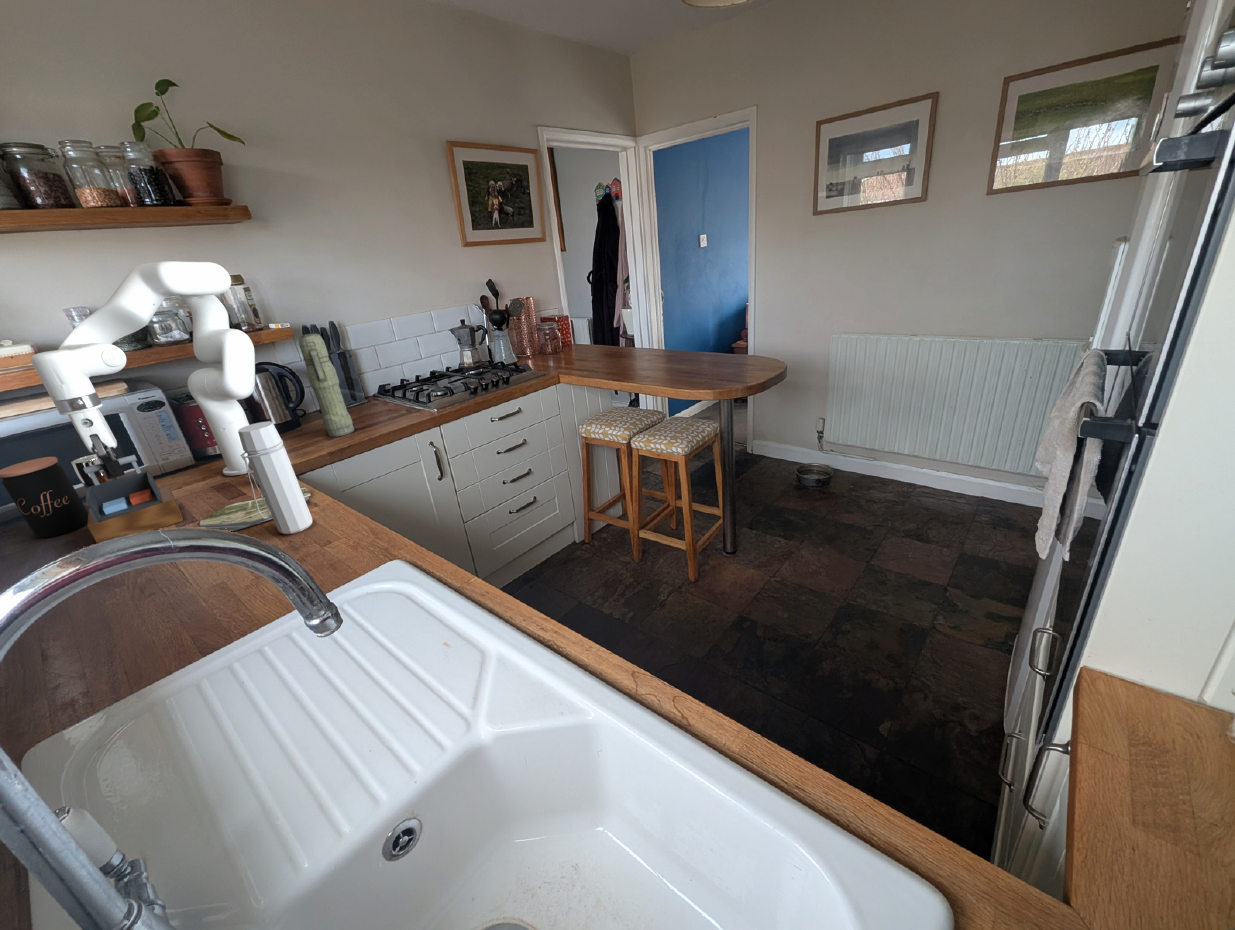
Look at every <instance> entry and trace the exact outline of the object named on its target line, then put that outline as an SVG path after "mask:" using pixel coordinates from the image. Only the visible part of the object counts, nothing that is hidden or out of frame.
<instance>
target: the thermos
mask: <svg viewBox="0 0 1235 930" xmlns="http://www.w3.org/2000/svg"><path fill="white" fill-rule="evenodd" d="M298 346H299V349H300V352H301V355H302V358H303V360H304V362H305V367H306V376H307V378H308V381H309V384H310V388H311V389H312V390H313V391H314V394H315V397H316V400H317V402H318V405H319V408H320V412H321V414H322V422H323V425H324V428H325V430H326V431H327V435H328V437H331V438H335V437H336V438H337V437H342V436H346V435H349V434H352V433H353V432H354V431H355V427H354V425H353V423H354V422H353V419H352V416H351V414H350V413H349V412H348V410H347V407H346V404H345V403H346V402H345V400H344V396H343V394H342V390H341V387H340V380H339V377H338V373H337V371H336V367H335V365H333V364H332V361H331V359H330V357H329V356H330V355H329V351H328V349H327V346H326V343H325V340H324V339H323V337H322V336H321V335H320V333H317V332H313V333H312V332H311V333H305V334H302V335H301V336H299V338H298Z"/></svg>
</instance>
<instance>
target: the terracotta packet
mask: <svg viewBox="0 0 1235 930" xmlns="http://www.w3.org/2000/svg"><path fill="white" fill-rule="evenodd" d="M129 497H130V501H131V503H132V505H135V504H138V503H142V502H145V501H148V500H152V499H153V496H152V493H151V491H150V489H146V490H143V491H139V492H136V493H133V494H129Z"/></svg>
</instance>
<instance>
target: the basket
mask: <svg viewBox="0 0 1235 930" xmlns="http://www.w3.org/2000/svg"><path fill="white" fill-rule="evenodd" d="M116 460H118V461H119V463H120V465H122V466H123V465H127V464H130V463H131V465H132V467H133V469H134V471H135V474H131V475H127V476H123V477H118V478H117V479H116V480H112V481H109V482H105V483H101V484H100V483H99V481H98V480H97V478H96V476H95V474H94V472H97V471H100V470H103V469H102V467H101V465H100V464H101V463H100V464H96V465H93V466H89V467H85V468H83V469H84V471H85V473H86V474H89V475H90V477H91V479H92V480H93V482H94V484H95V485H94V486H91V487H87V488H86V491H85V501H86V504H87V505H88V507H89V509H91V510H92V512H93V514H94V515H95V517H96V519H97V521H98V522H102V521H105V520H109V519H112V518H115V517H118V516H121V515H125V514H128V513H131V512H134V511H138V510H141V509H144V508H147V507H150V506H154V505H157V504H160V503H163V501H162V498H161V494H160V491H159V489H158V488H159V486H158V485H157V482H156V481H155V479H154V477H153V474H152V473H151V471H150V470H149V469H148V470H145V471H141V469H140V467H139V465H138V463H137V462H138V458H137V457H136V454H132V455H127V456H124V457H120V458H118V459H116ZM146 489H150V491H151V493H152V496H153V499H152V500H148V501H145V502H142V503H138V504H135V505H132V503H131V501H130V497H129V494H133V493H136V492H139V491H143V490H146ZM123 497H124V498H125V500H126V502H127V508H126V509H123V510H119V511H116V512H113V513H109V514H105V512H104V510H103V503H106V502H109V501H113V500H116V499H119V498H123Z"/></svg>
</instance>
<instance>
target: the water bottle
mask: <svg viewBox="0 0 1235 930" xmlns="http://www.w3.org/2000/svg"><path fill="white" fill-rule="evenodd" d="M238 433H239V437H240V440H241V443H242V447H243V450H244V451H245V452H244V453H243V454H242V455H240V456H241V457H242V459H243V460H244V461H245V464H247V462H246V461H247V460H246V458H248V460H249V462H250V464H251V467H252V469H253V472H254V474H255V476H256V479H257V481H258V483H259V485H258V484H257V482H256V481H255V479H254V477H253V475H252V473H251V471H250V469H249V471H250V473H251V475H252V476H251V475H250V474H249V472H248V468H249V466H248V464H247V465H246V468H247V466H248V468H247V472H248V473H247V475H248V479H249V482H250V486H251V490H252V494H253V497H254V498H253V499H255V502H256V505H257V509H258V511H259V512H260V510H259V508H258V504H257V500H256V498H257V497H256V493H255V489H254V487H253V483H252V480H251V477H252V479H253V481H254V484H255V486H256V488H257V490H258V493H259V494H260V497H262V499H263V501H264V503H265V506H266V508H267V510H268V514H267V516H266V517H263V515H262V514H261V512H260V514H261V516H262V517H263V518H264V519H266V518H269V515H270V512H271V514H272V517H273V519H272V520H273V522H274V524H275V526H276V528H277V531H278V533H281V534H282V535H294V534H297V533H300V532H302V531H304V530H307V529H308V528H309V527H310V526H311V525H312V524H313V517H312V514H311V512H310V510H309V507H308V504H306V501H305V499H304V496H303V494H302V491H301V488H300V487H301V486H300V483H299V481H298V478H297V476H296V473H295V471H294V468H293V466H292V463H291V460H290V458H289V455H288V453H287V452H288V451H287V450H286V448H285V445H284V441H283V439H282V438H281V436H280V434H279V432H278V430H277V428H276V425H275V424H274V422H273V421H259V422H256V423H252V424H249V425H248V426H245V427H243V428H241V429H239V430H238ZM245 453H247V454H248V455H247V456H244V454H245ZM263 496H264V498H265V500H266V502H267V504H266V502H265V500H264V498H263ZM267 505H268V507H269V509H268V507H267ZM269 510H270V512H269Z"/></svg>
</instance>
